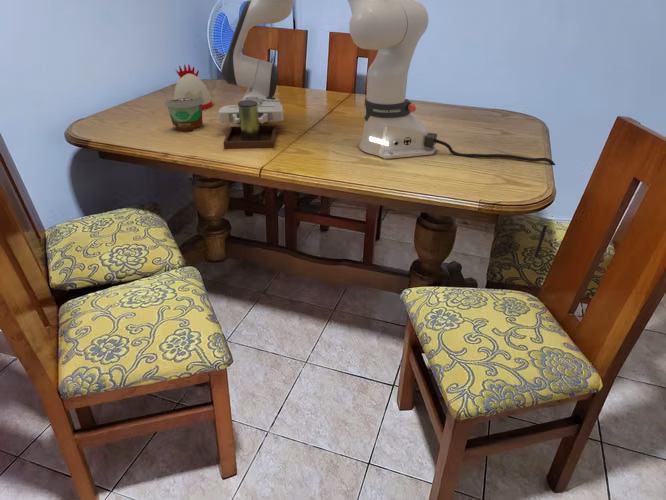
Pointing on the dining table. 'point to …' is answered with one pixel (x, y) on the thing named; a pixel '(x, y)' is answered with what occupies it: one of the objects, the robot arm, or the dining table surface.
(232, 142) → the tray
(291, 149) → the dining table surface
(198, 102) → the food container
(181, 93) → the kitchen timer
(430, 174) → the dining table surface
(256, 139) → the tin canister
